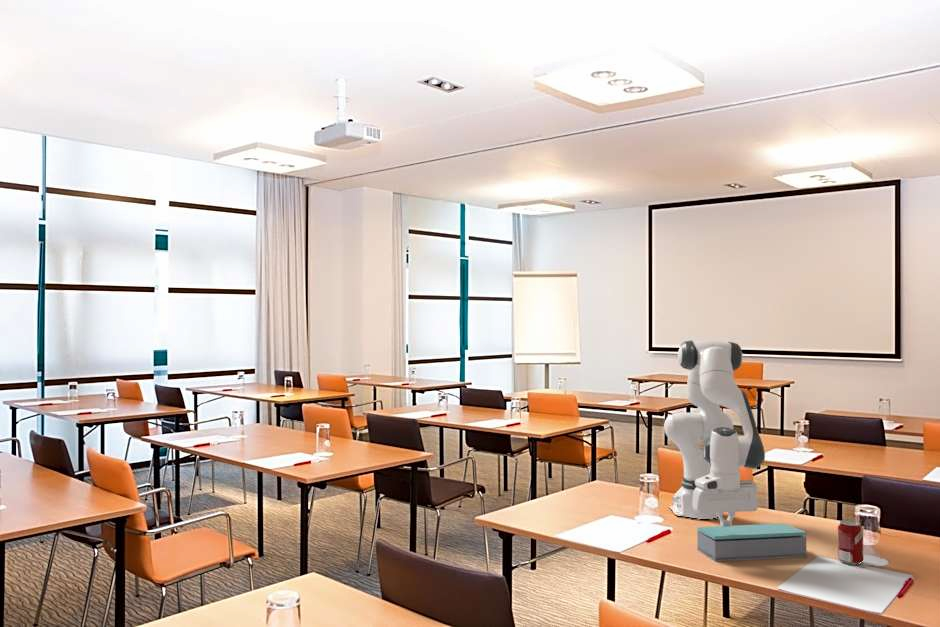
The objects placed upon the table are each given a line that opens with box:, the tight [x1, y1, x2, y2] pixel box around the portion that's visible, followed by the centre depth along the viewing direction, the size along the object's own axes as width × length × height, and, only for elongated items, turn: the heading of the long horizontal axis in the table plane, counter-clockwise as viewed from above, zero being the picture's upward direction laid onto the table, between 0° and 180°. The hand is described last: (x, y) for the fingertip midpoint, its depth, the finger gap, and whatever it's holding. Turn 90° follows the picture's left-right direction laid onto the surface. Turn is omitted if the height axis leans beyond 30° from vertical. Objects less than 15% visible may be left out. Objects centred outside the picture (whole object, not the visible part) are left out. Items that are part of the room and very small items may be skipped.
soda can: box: [837, 519, 865, 565], centre depth 222 cm, size 7×7×12 cm
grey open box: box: [696, 530, 808, 562], centre depth 231 cm, size 12×30×6 cm, turn 98°
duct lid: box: [697, 522, 807, 540], centre depth 231 cm, size 12×30×1 cm, turn 98°
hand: (725, 526), depth 227 cm, fingers closed
